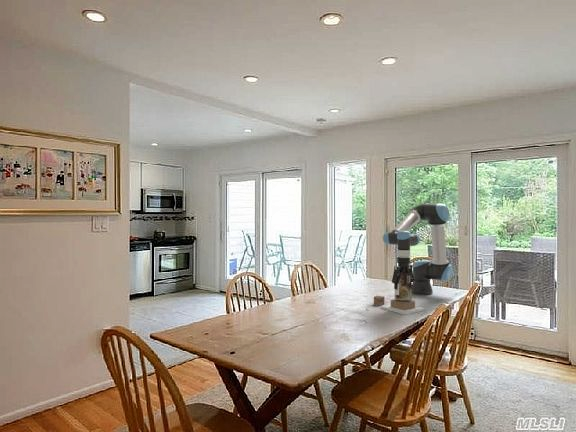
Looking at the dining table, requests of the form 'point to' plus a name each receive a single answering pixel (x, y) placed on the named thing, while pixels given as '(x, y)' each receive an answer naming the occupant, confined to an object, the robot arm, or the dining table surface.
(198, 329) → the dining table surface
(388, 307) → the tower base
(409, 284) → the coffee box
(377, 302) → the brick
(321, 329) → the dining table surface
